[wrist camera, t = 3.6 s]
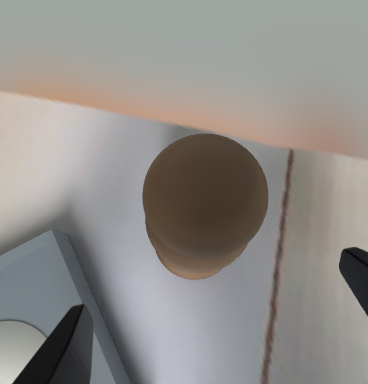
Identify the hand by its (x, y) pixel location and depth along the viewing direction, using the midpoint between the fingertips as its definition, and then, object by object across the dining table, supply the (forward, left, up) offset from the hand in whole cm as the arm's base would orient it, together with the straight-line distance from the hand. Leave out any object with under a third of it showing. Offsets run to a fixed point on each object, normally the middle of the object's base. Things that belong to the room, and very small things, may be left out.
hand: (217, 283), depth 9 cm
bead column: (+3, -1, -10) cm, 10 cm away
